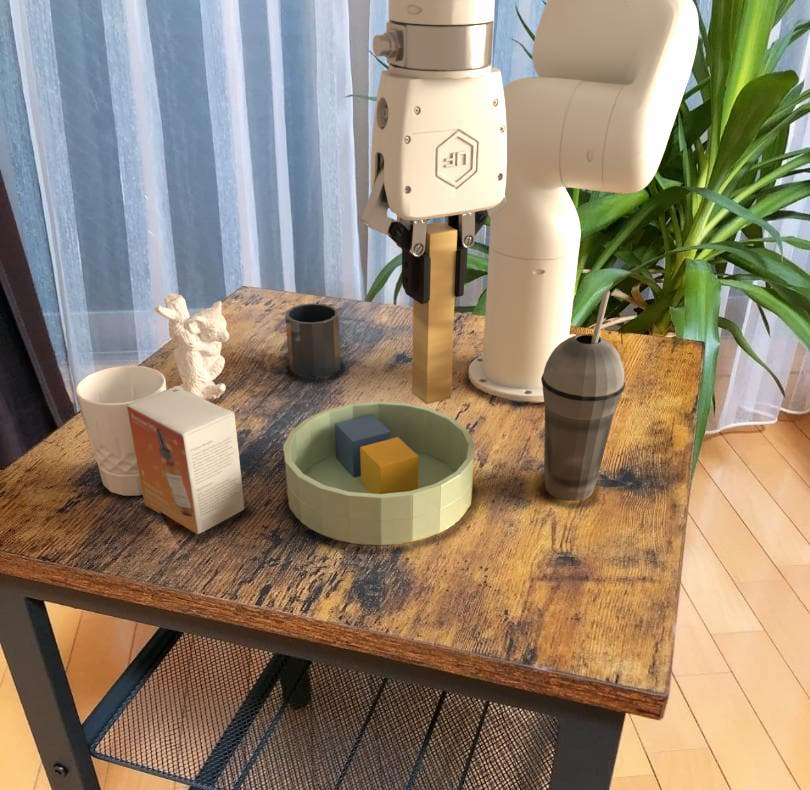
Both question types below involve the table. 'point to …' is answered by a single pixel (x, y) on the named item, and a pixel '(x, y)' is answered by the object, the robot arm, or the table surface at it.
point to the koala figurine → (197, 345)
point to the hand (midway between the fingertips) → (433, 293)
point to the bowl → (380, 513)
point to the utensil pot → (313, 340)
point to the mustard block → (389, 467)
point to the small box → (187, 458)
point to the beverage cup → (579, 410)
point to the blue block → (357, 440)
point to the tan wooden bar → (435, 319)
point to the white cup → (116, 421)
